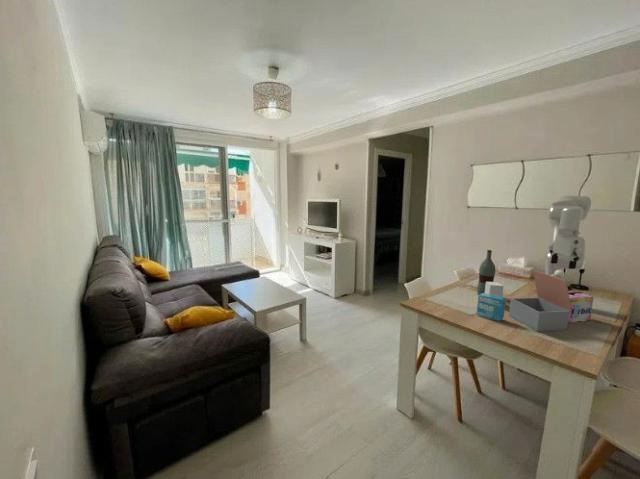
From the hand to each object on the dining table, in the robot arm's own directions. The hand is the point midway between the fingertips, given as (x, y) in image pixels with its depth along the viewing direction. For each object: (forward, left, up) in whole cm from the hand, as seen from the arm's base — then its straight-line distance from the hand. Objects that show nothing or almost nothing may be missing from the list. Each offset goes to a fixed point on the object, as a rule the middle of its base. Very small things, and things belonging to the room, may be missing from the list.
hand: (562, 265), depth 144 cm
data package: (+30, -8, -31) cm, 44 cm away
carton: (+10, 0, -30) cm, 32 cm away
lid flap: (+5, 0, -12) cm, 13 cm away
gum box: (-9, -2, -31) cm, 32 cm away
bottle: (+10, -40, -30) cm, 51 cm away
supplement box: (+15, -26, -31) cm, 43 cm away
